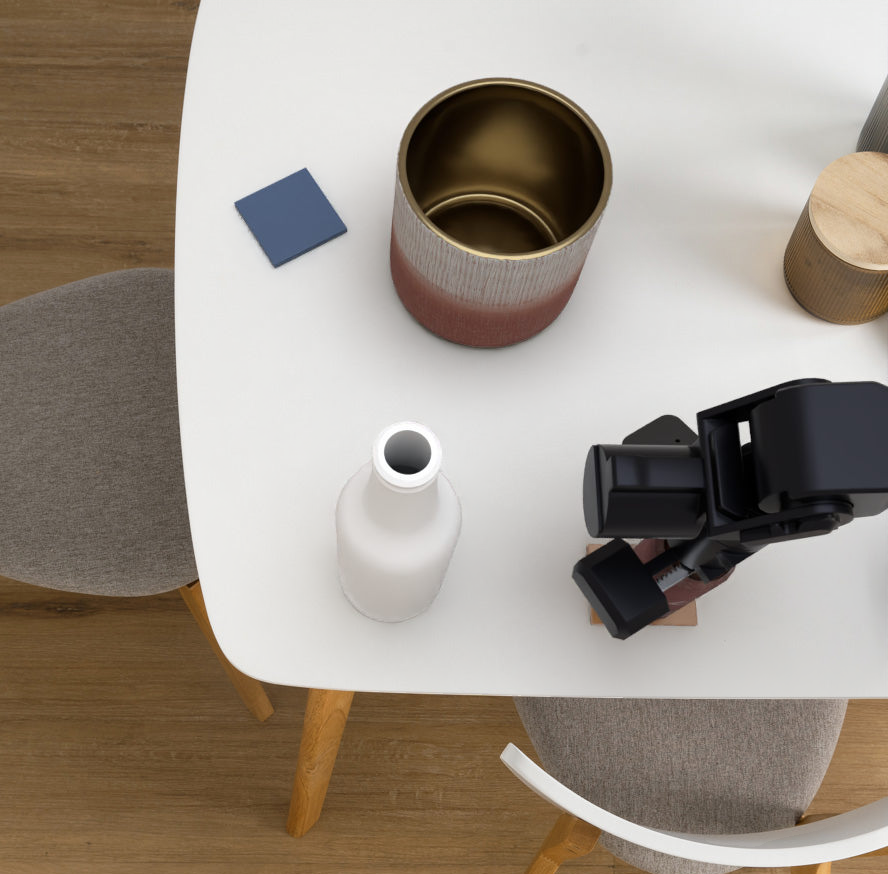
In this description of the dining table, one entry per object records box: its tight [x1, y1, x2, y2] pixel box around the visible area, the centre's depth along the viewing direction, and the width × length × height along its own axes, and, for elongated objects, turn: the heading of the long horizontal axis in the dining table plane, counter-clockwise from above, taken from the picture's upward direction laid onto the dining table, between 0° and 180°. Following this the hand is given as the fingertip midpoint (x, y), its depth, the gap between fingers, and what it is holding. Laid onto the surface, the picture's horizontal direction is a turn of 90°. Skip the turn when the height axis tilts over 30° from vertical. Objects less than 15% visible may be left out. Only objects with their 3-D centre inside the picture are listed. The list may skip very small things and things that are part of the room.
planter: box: [389, 76, 614, 348], centre depth 85 cm, size 18×18×16 cm
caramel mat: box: [586, 543, 699, 627], centre depth 83 cm, size 9×7×1 cm
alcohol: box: [334, 421, 463, 623], centre depth 69 cm, size 9×9×30 cm
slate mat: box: [233, 166, 348, 269], centre depth 93 cm, size 8×8×1 cm
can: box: [633, 539, 737, 620], centre depth 76 cm, size 6×6×14 cm
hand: (666, 564), depth 76 cm, fingers open, 9 cm apart
